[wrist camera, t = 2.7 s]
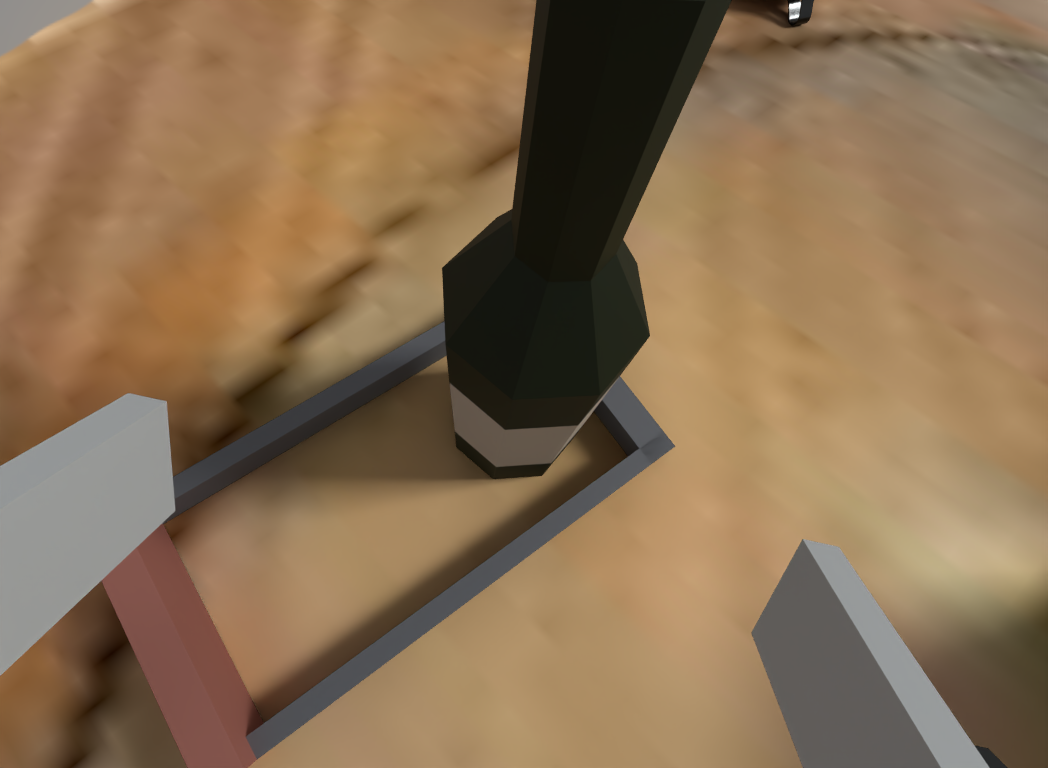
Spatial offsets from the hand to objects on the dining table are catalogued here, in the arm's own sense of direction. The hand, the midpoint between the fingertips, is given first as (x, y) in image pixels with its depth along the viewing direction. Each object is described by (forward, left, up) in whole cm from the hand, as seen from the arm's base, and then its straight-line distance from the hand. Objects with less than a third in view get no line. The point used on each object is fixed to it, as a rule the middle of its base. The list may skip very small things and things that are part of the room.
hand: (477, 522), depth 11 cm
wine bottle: (-7, -6, -23) cm, 25 cm away
